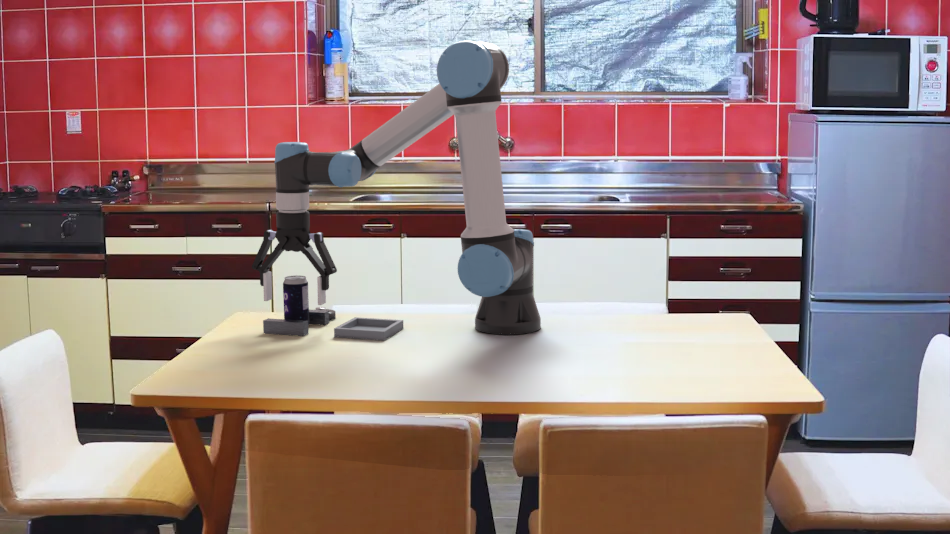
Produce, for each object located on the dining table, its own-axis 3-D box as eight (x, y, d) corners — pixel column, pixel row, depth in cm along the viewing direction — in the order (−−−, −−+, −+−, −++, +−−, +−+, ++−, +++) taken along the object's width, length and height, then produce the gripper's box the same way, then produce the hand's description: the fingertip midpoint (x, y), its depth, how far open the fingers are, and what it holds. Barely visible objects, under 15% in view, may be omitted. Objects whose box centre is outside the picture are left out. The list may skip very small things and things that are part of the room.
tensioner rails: (342, 316, 267) (341, 304, 266) (303, 336, 247) (303, 323, 246) (304, 314, 270) (304, 302, 269) (263, 333, 250) (263, 320, 249)
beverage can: (298, 324, 259) (296, 274, 257) (314, 327, 255) (312, 276, 253) (279, 328, 254) (277, 277, 252) (296, 332, 251) (294, 280, 249)
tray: (403, 328, 254) (403, 320, 253) (384, 340, 242) (384, 331, 242) (355, 325, 257) (355, 317, 257) (334, 337, 246) (334, 328, 245)
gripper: (350, 211, 250) (351, 302, 254) (251, 206, 257) (253, 295, 261) (336, 214, 243) (338, 308, 247) (235, 210, 250) (238, 301, 254)
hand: (294, 302), depth 254 cm, fingers open, 13 cm apart
